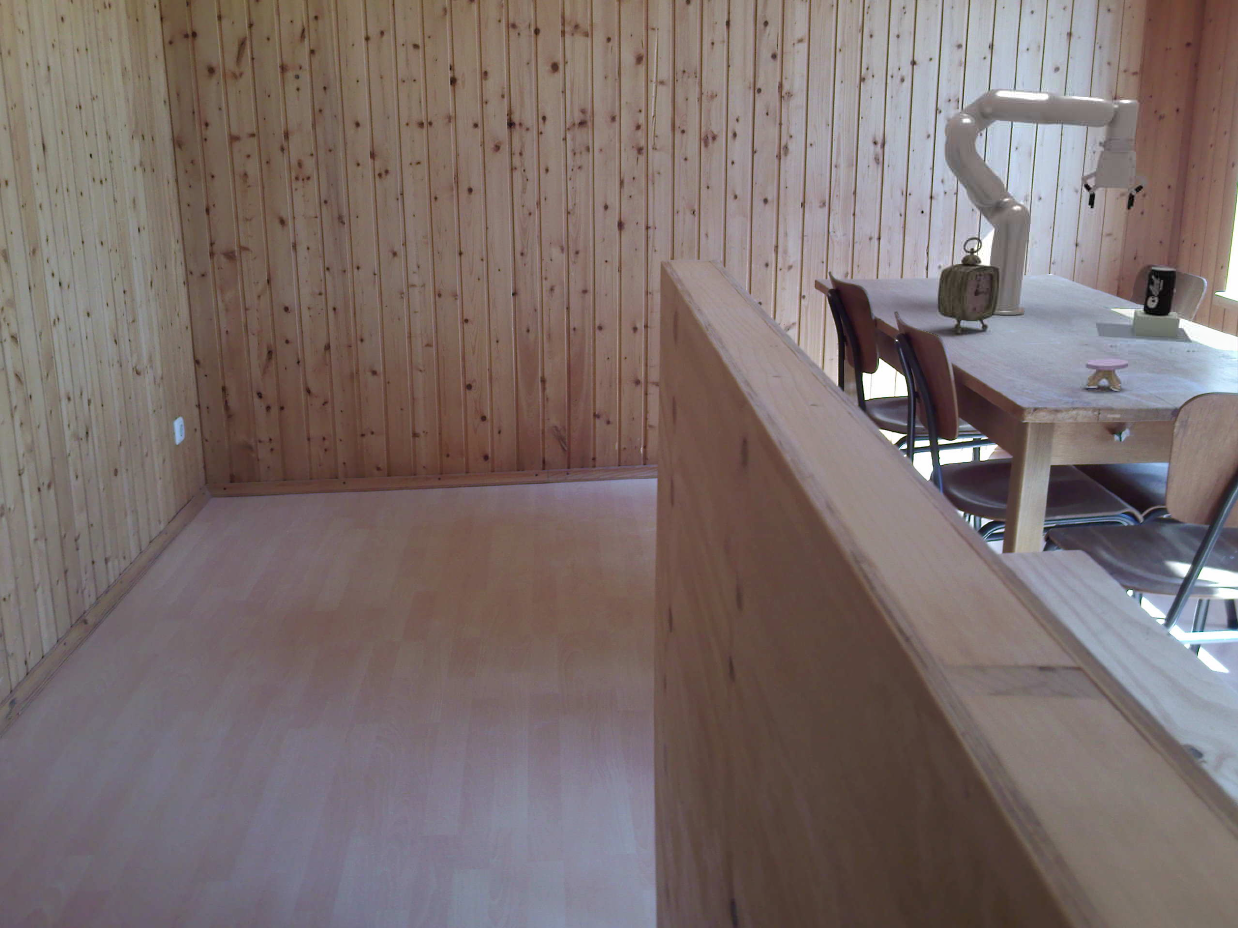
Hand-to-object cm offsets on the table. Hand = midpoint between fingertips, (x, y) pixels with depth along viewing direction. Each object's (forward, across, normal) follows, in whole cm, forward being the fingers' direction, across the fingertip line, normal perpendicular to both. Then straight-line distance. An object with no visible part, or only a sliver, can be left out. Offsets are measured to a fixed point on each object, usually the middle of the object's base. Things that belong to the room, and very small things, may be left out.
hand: (1110, 208), depth 318 cm
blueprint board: (+30, +10, -29) cm, 43 cm away
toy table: (+31, -2, -94) cm, 99 cm away
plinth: (+29, +13, -29) cm, 43 cm away
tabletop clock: (+31, -35, -39) cm, 61 cm away
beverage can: (+24, +13, -29) cm, 40 cm away
